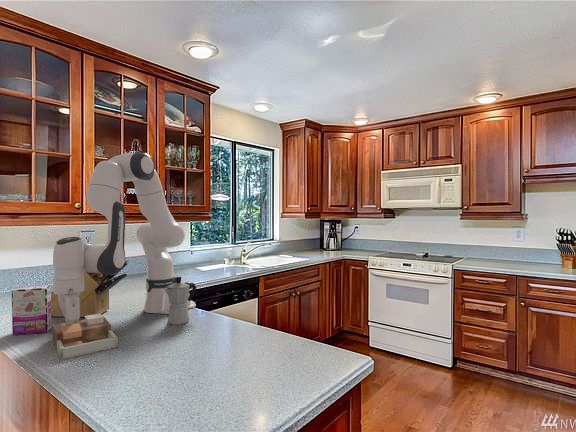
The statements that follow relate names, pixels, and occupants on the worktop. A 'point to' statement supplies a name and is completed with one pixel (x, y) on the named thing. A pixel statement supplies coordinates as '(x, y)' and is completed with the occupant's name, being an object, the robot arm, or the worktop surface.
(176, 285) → the coffee maker
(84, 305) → the knife block
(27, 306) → the candy bar box
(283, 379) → the worktop surface
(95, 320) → the tile
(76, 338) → the wooden box
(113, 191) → the robot arm
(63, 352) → the tray
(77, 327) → the tile
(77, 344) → the tile
